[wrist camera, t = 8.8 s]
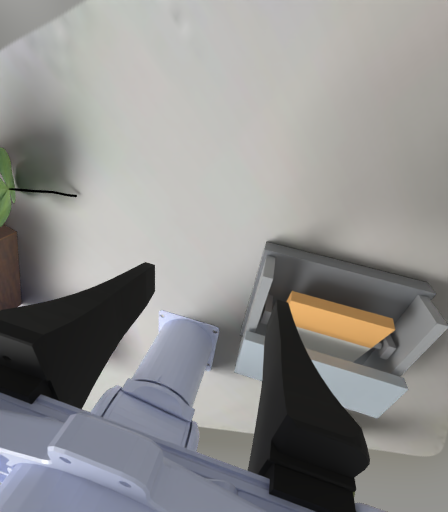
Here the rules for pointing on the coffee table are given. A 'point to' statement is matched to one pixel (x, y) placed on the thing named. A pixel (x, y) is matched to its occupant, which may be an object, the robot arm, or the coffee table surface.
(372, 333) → the rocker
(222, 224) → the coffee table surface
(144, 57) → the coffee table surface
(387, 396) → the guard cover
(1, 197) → the seedling
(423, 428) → the coffee table surface
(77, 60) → the coffee table surface
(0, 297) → the tissue box cover
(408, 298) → the box
